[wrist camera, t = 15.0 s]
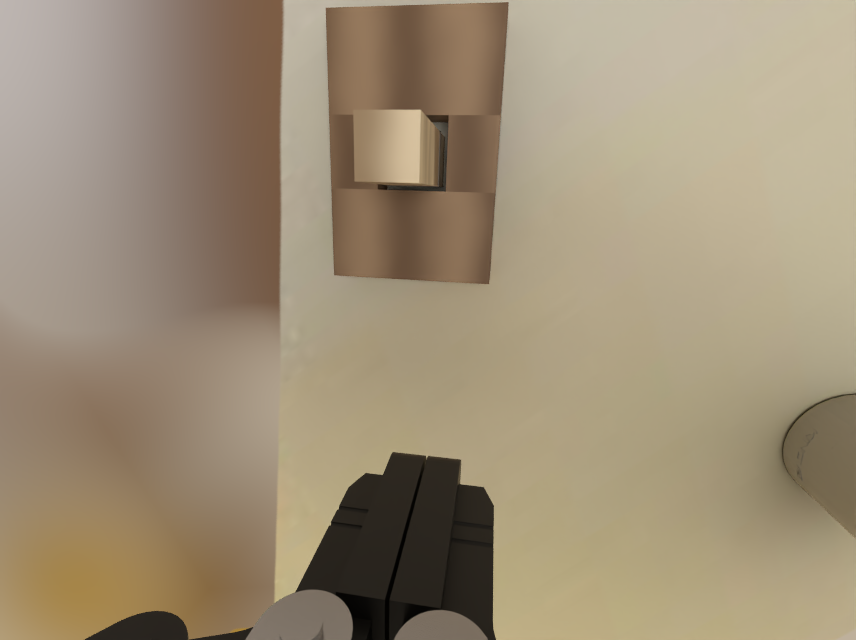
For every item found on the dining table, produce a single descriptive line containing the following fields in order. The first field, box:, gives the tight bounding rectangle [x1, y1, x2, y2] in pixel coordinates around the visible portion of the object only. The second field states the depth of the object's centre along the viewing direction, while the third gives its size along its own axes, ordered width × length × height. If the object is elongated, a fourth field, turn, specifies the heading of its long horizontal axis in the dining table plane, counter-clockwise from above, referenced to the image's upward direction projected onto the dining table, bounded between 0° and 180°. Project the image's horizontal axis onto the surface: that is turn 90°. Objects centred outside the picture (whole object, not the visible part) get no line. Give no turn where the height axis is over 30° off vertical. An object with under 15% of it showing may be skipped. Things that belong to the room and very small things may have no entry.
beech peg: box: [353, 110, 445, 187], centre depth 28 cm, size 4×4×11 cm
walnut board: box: [326, 2, 509, 284], centre depth 32 cm, size 12×18×3 cm, turn 178°
